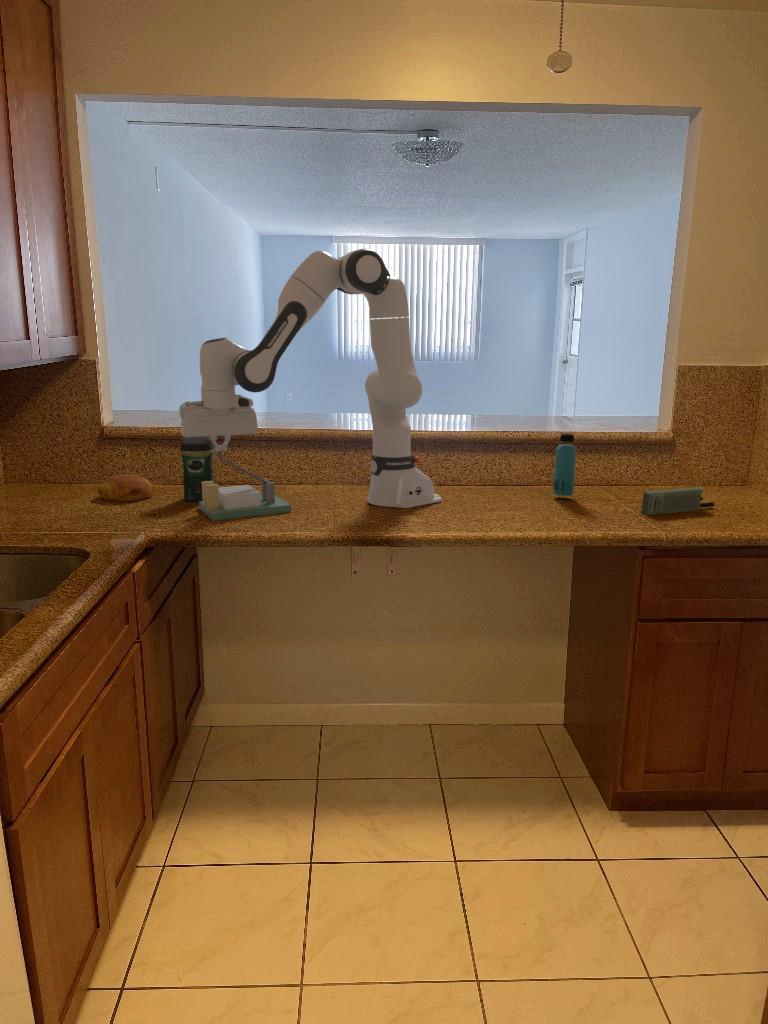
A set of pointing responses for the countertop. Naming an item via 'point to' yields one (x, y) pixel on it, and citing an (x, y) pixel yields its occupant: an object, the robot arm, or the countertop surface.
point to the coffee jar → (196, 466)
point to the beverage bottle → (564, 467)
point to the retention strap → (241, 468)
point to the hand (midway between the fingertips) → (220, 451)
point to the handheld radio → (673, 501)
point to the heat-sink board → (240, 501)
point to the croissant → (125, 488)
